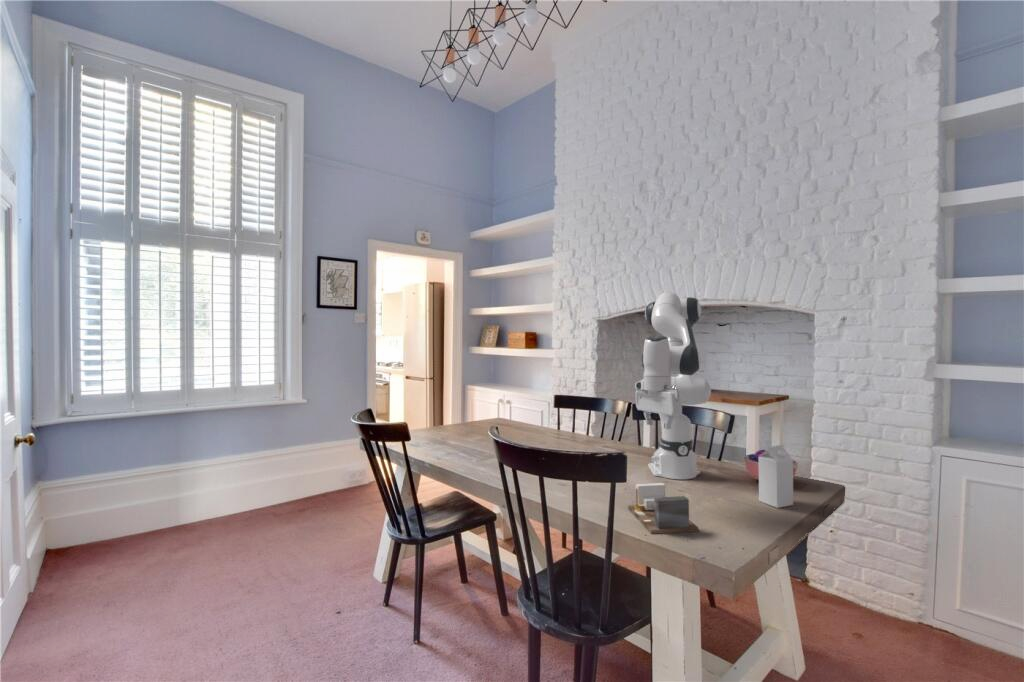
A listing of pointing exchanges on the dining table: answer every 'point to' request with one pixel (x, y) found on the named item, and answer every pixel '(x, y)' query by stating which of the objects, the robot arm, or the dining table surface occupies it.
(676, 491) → the dining table surface
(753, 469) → the cell model
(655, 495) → the white bent piece
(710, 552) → the dining table surface
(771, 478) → the milk carton
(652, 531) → the gauge base
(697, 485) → the dining table surface
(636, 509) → the peak needle
